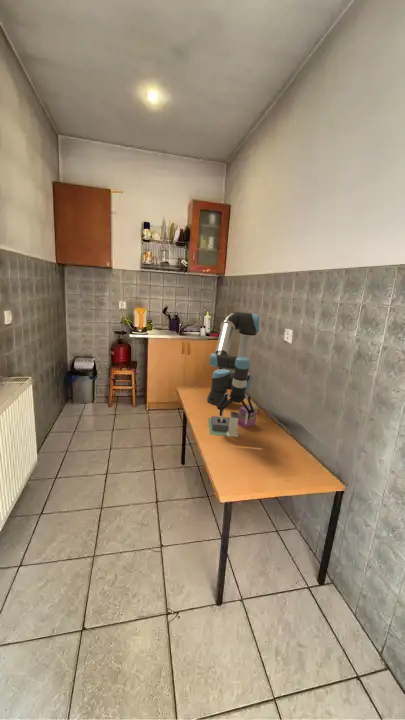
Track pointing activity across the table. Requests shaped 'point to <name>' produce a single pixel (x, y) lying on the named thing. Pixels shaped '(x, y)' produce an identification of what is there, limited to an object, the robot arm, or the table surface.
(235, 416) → the plug
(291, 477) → the table surface
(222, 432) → the board
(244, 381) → the robot arm
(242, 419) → the box
